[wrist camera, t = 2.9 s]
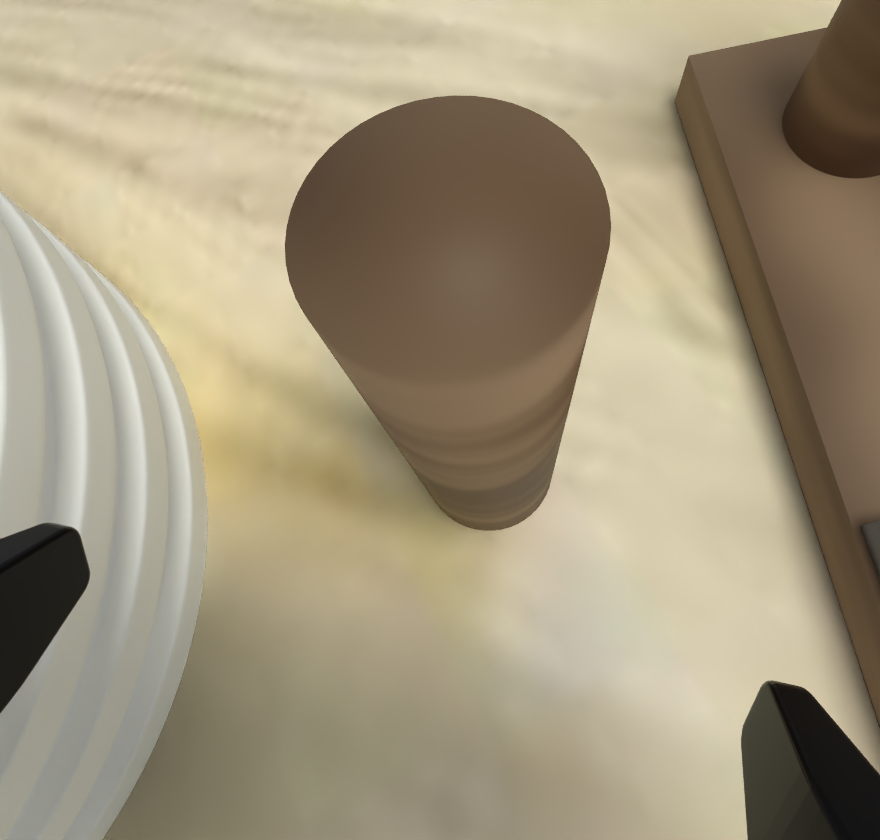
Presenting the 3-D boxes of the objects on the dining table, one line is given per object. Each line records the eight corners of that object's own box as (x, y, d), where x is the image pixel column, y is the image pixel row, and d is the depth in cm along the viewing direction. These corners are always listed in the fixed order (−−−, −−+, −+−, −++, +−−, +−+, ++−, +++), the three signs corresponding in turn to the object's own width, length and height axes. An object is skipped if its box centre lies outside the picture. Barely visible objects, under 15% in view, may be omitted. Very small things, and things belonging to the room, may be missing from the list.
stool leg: (540, 541, 19) (585, 406, 7) (414, 516, 20) (245, 351, 7) (560, 418, 20) (629, 108, 8) (440, 398, 21) (330, 85, 9)
